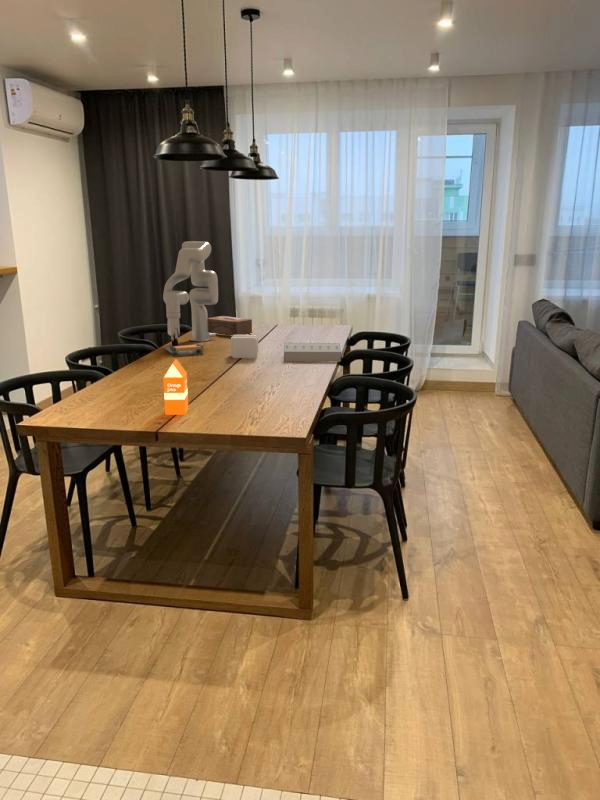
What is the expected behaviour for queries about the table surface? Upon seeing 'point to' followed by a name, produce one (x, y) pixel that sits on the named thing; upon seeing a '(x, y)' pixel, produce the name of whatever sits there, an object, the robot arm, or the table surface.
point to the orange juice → (175, 390)
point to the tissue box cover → (229, 325)
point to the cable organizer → (244, 346)
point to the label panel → (184, 352)
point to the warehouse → (312, 352)
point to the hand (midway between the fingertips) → (175, 347)
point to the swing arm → (186, 347)
